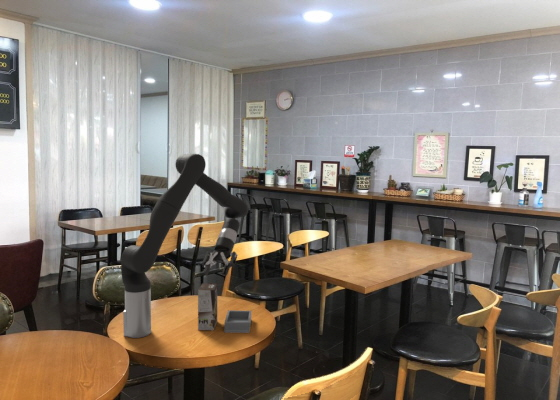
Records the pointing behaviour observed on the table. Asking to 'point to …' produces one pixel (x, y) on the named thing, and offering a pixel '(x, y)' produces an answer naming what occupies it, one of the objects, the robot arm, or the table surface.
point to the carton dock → (237, 321)
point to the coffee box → (207, 306)
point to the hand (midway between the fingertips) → (214, 274)
